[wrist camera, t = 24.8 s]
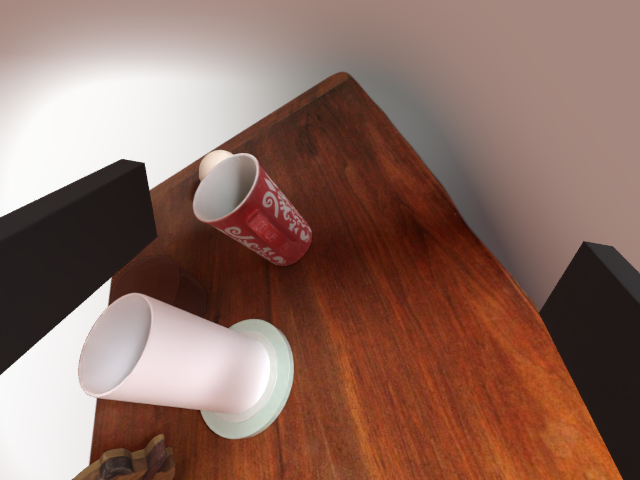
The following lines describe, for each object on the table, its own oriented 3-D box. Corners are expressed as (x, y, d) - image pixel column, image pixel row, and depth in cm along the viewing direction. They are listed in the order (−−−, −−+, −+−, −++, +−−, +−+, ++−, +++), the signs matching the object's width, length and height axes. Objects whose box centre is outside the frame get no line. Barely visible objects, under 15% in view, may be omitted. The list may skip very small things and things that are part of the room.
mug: (252, 246, 50) (182, 194, 40) (297, 203, 50) (239, 140, 40) (292, 305, 42) (218, 259, 32) (346, 255, 42) (289, 193, 32)
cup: (204, 366, 43) (76, 334, 30) (254, 324, 42) (144, 273, 30) (224, 430, 37) (79, 421, 25) (281, 382, 37) (162, 350, 25)
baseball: (218, 176, 63) (191, 153, 58) (251, 162, 60) (226, 136, 55) (214, 206, 59) (185, 183, 54) (249, 192, 57) (222, 166, 52)
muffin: (221, 322, 46) (161, 297, 39) (159, 365, 48) (90, 350, 40) (206, 259, 54) (154, 228, 46) (153, 298, 55) (94, 274, 47)
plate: (255, 301, 45) (249, 298, 44) (315, 370, 37) (310, 368, 36) (188, 379, 44) (181, 378, 43) (235, 469, 36) (228, 469, 35)
